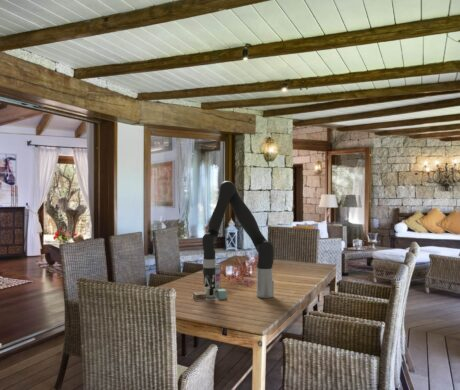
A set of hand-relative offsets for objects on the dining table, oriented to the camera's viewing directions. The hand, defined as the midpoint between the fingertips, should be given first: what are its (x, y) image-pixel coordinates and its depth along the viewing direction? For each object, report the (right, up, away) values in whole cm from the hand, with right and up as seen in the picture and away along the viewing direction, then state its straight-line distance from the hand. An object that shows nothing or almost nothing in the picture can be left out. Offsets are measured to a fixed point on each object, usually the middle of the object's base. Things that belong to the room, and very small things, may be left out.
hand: (209, 293), depth 237 cm
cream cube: (0, -2, 0) cm, 2 cm away
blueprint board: (0, -2, -3) cm, 3 cm away
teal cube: (+8, -2, -3) cm, 8 cm away
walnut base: (-5, -2, -5) cm, 7 cm away
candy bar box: (+1, -2, +17) cm, 17 cm away
